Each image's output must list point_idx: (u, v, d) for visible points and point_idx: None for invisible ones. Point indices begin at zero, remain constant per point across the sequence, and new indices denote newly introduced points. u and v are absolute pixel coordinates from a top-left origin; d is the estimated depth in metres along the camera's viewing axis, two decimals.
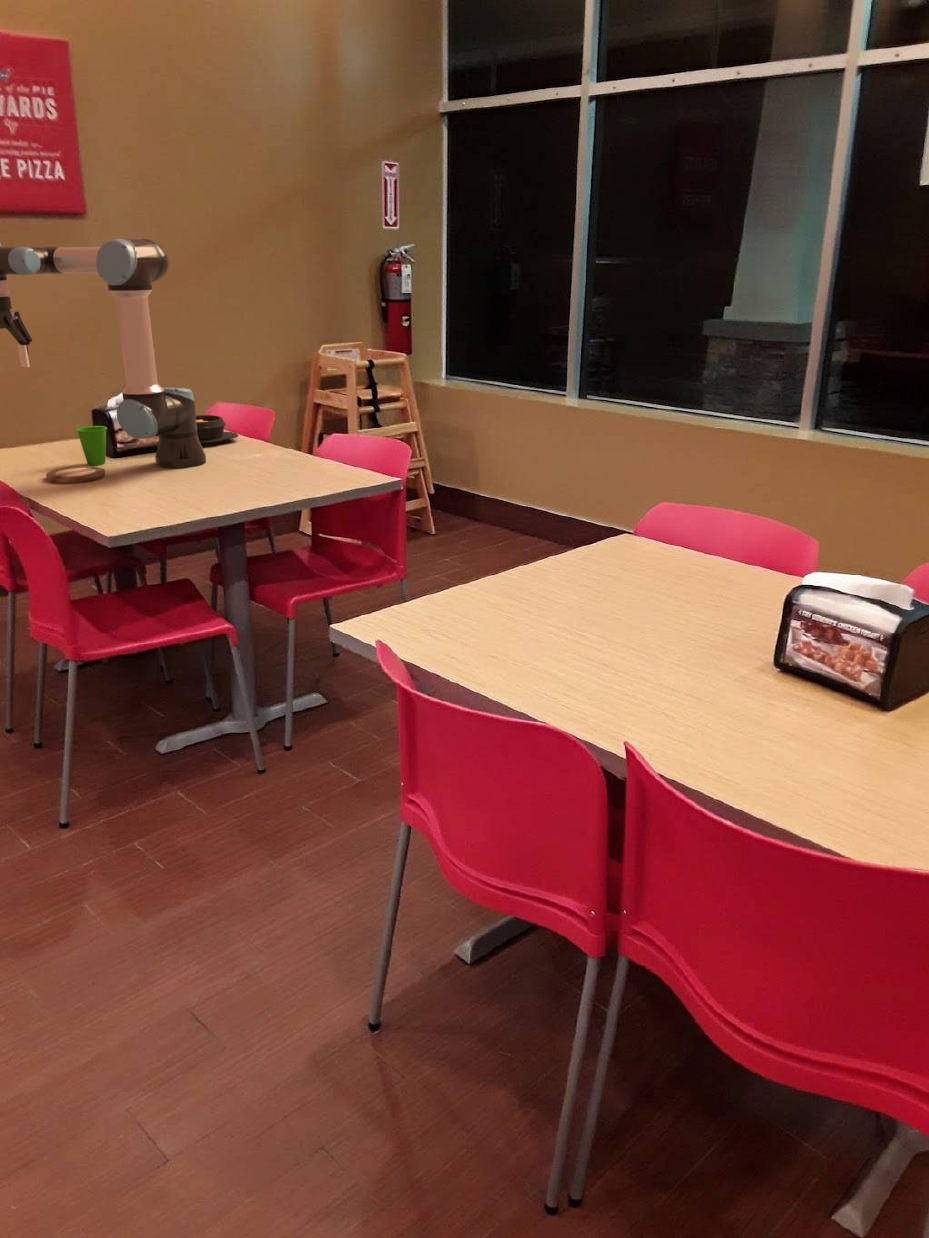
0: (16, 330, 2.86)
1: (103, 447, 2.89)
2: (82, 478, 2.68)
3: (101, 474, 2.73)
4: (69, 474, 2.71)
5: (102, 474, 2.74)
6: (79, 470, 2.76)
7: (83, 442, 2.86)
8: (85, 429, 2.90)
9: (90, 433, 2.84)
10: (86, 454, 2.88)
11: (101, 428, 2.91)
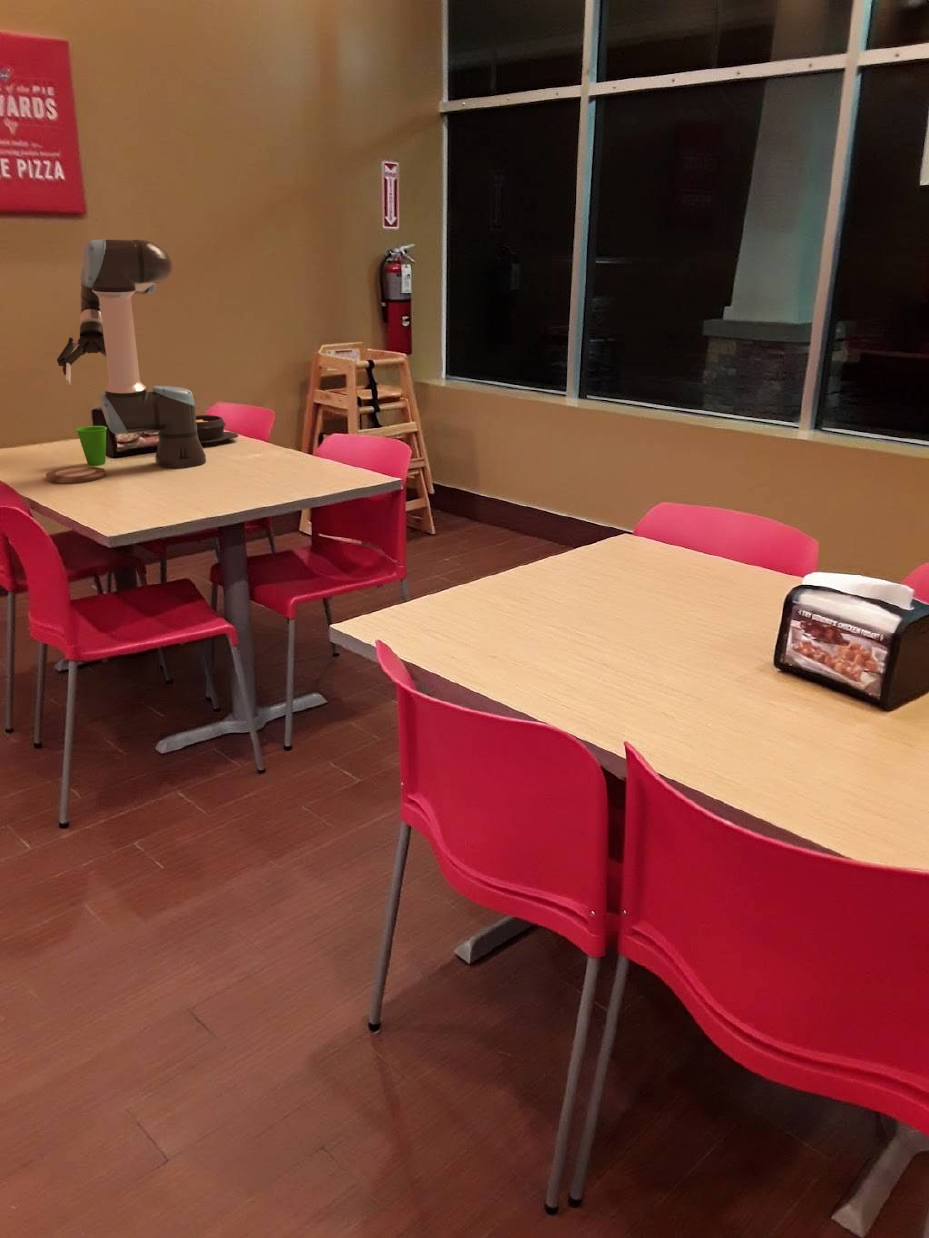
0: (106, 350, 2.96)
1: (103, 447, 2.89)
2: (82, 478, 2.68)
3: (101, 474, 2.73)
4: (69, 474, 2.71)
5: (102, 474, 2.74)
6: (79, 470, 2.76)
7: (83, 442, 2.86)
8: (85, 429, 2.90)
9: (90, 433, 2.84)
10: (86, 454, 2.88)
11: (101, 428, 2.91)
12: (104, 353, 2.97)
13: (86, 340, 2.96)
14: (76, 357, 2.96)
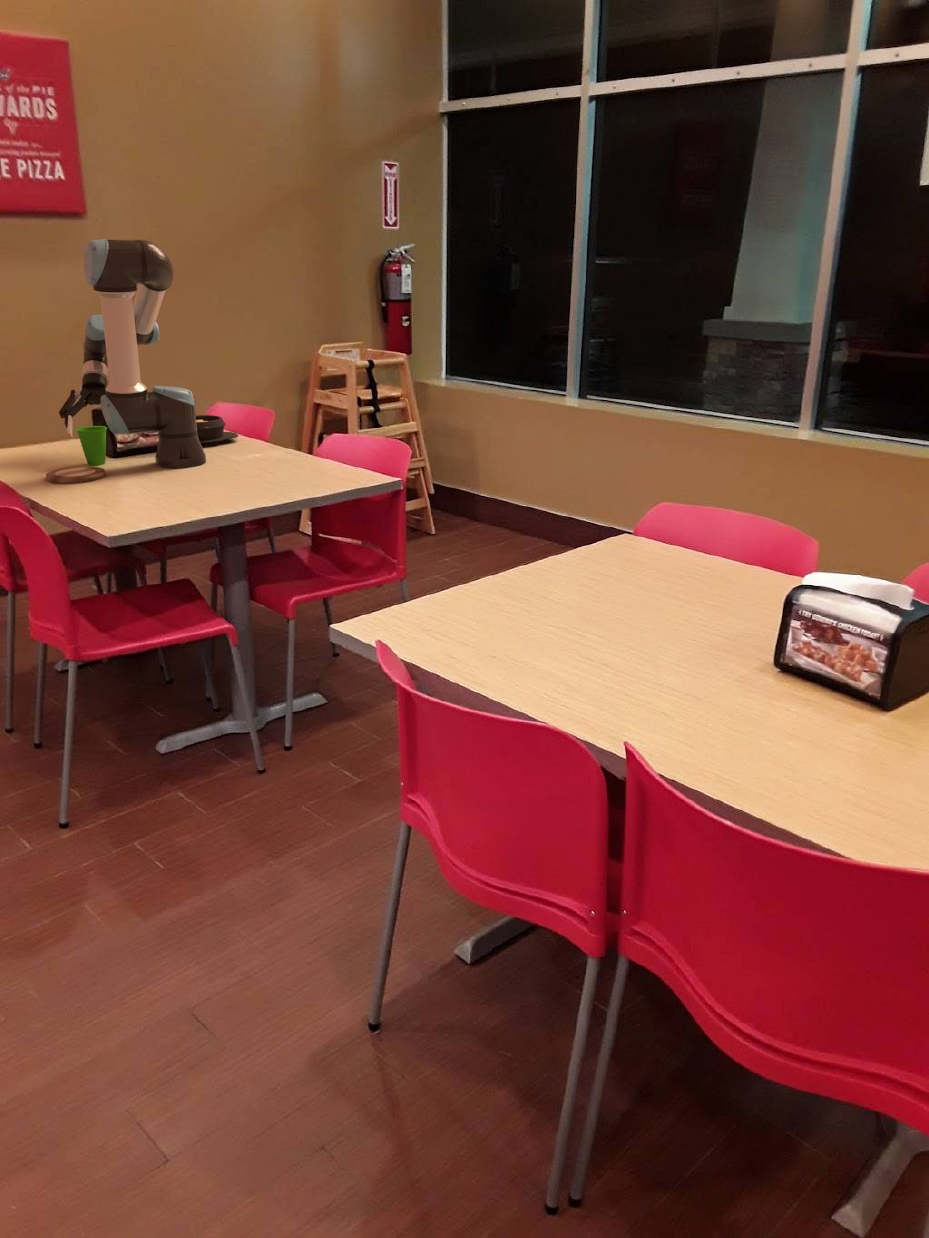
0: None
1: (103, 447, 2.89)
2: (82, 478, 2.68)
3: (101, 474, 2.73)
4: (69, 474, 2.71)
5: (102, 474, 2.74)
6: (79, 470, 2.76)
7: (83, 442, 2.86)
8: (85, 429, 2.90)
9: (90, 433, 2.84)
10: (86, 454, 2.88)
11: (101, 428, 2.91)
12: None
13: (88, 392, 2.95)
14: (78, 409, 2.95)
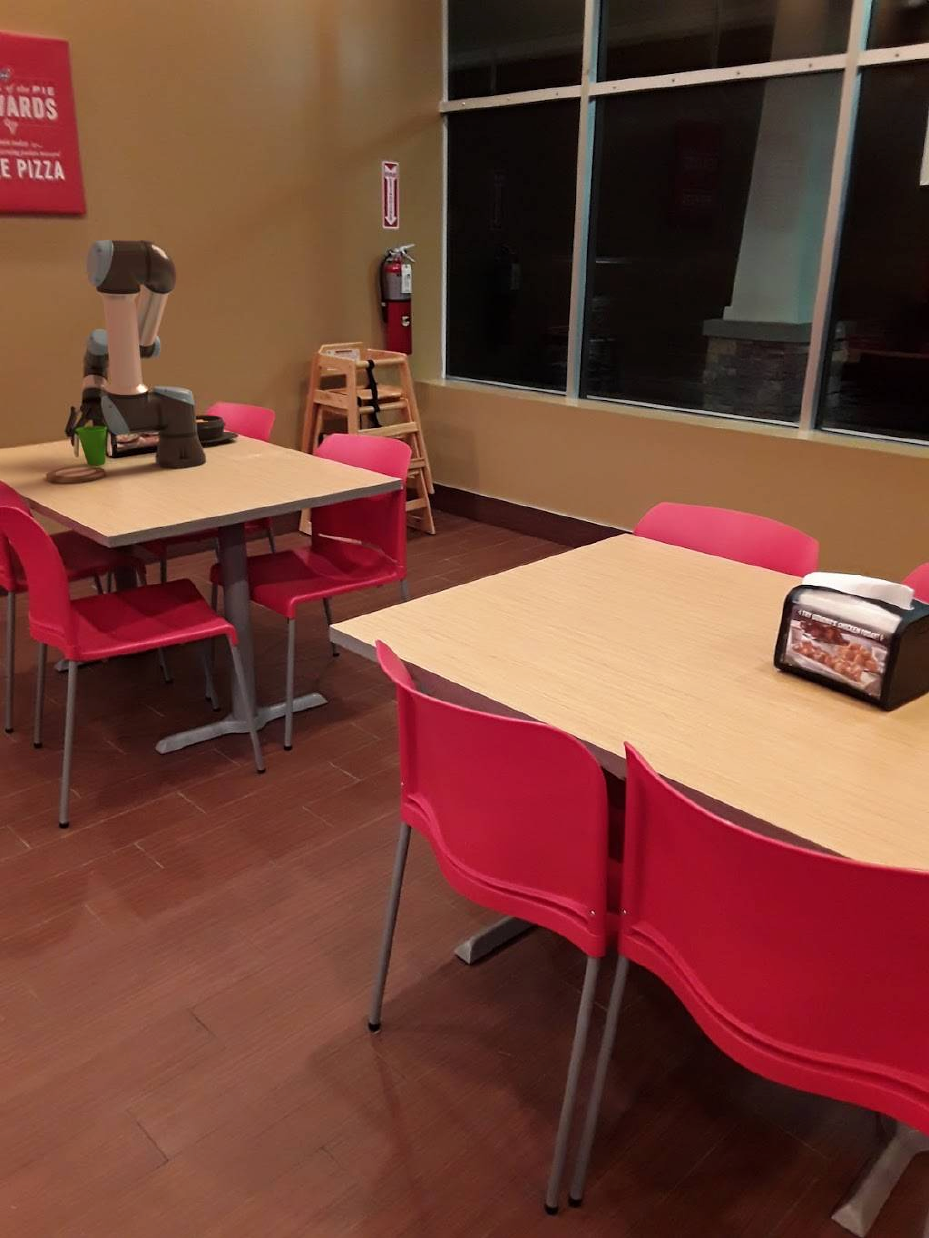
0: (105, 419, 2.91)
1: (103, 447, 2.89)
2: (82, 478, 2.68)
3: (101, 474, 2.73)
4: (69, 474, 2.71)
5: (102, 474, 2.74)
6: (79, 470, 2.76)
7: (83, 442, 2.86)
8: (85, 429, 2.90)
9: (90, 433, 2.84)
10: (86, 454, 2.88)
11: (101, 428, 2.91)
12: (103, 421, 2.92)
13: (88, 407, 2.91)
14: (82, 426, 2.91)
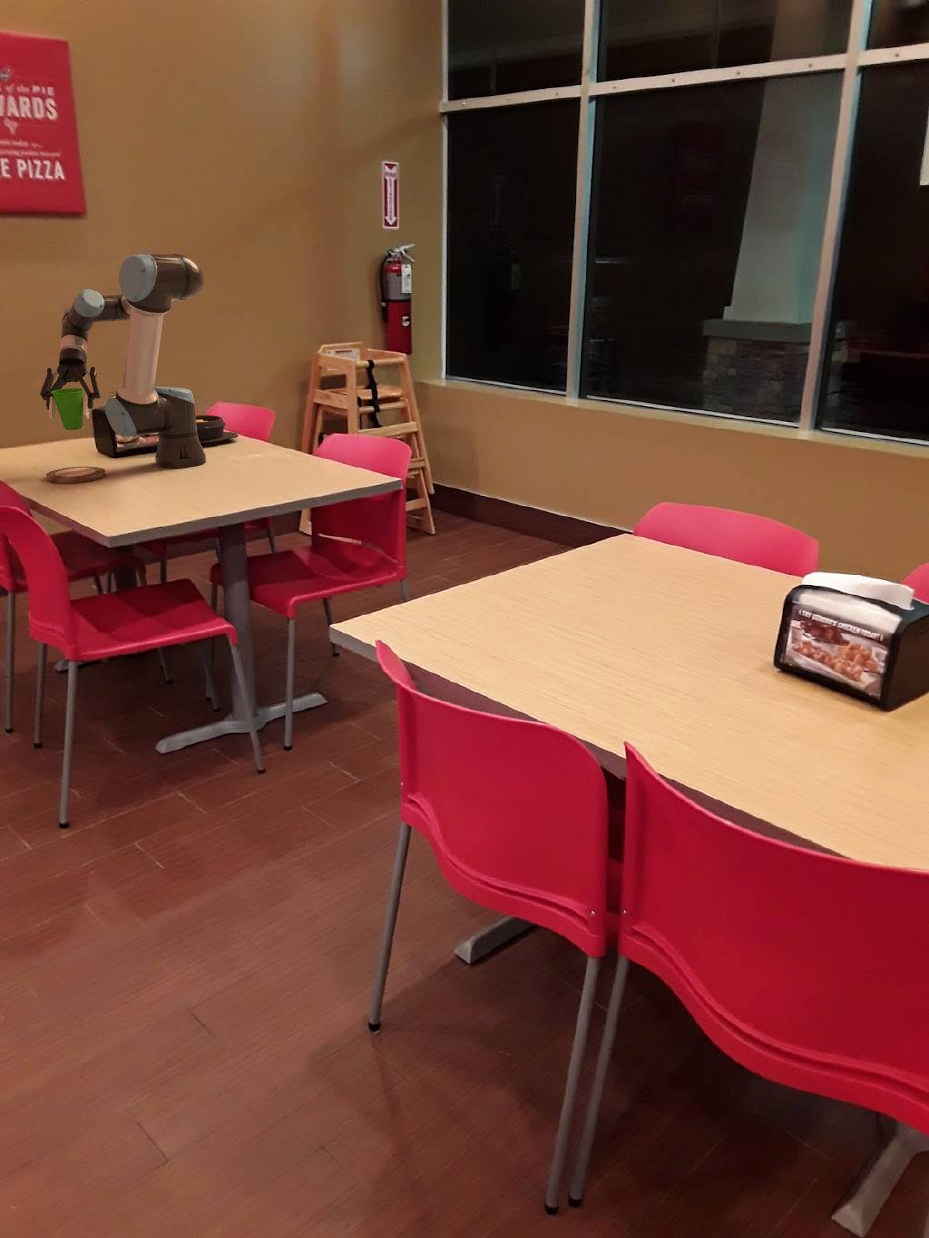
0: (82, 381, 2.77)
1: (80, 410, 2.75)
2: (82, 478, 2.68)
3: (101, 474, 2.73)
4: (69, 474, 2.71)
5: (102, 474, 2.74)
6: (79, 470, 2.76)
7: (58, 405, 2.72)
8: (62, 392, 2.77)
9: (65, 395, 2.70)
10: (62, 418, 2.74)
11: (78, 391, 2.77)
12: (81, 383, 2.78)
13: (65, 368, 2.78)
14: (59, 388, 2.77)
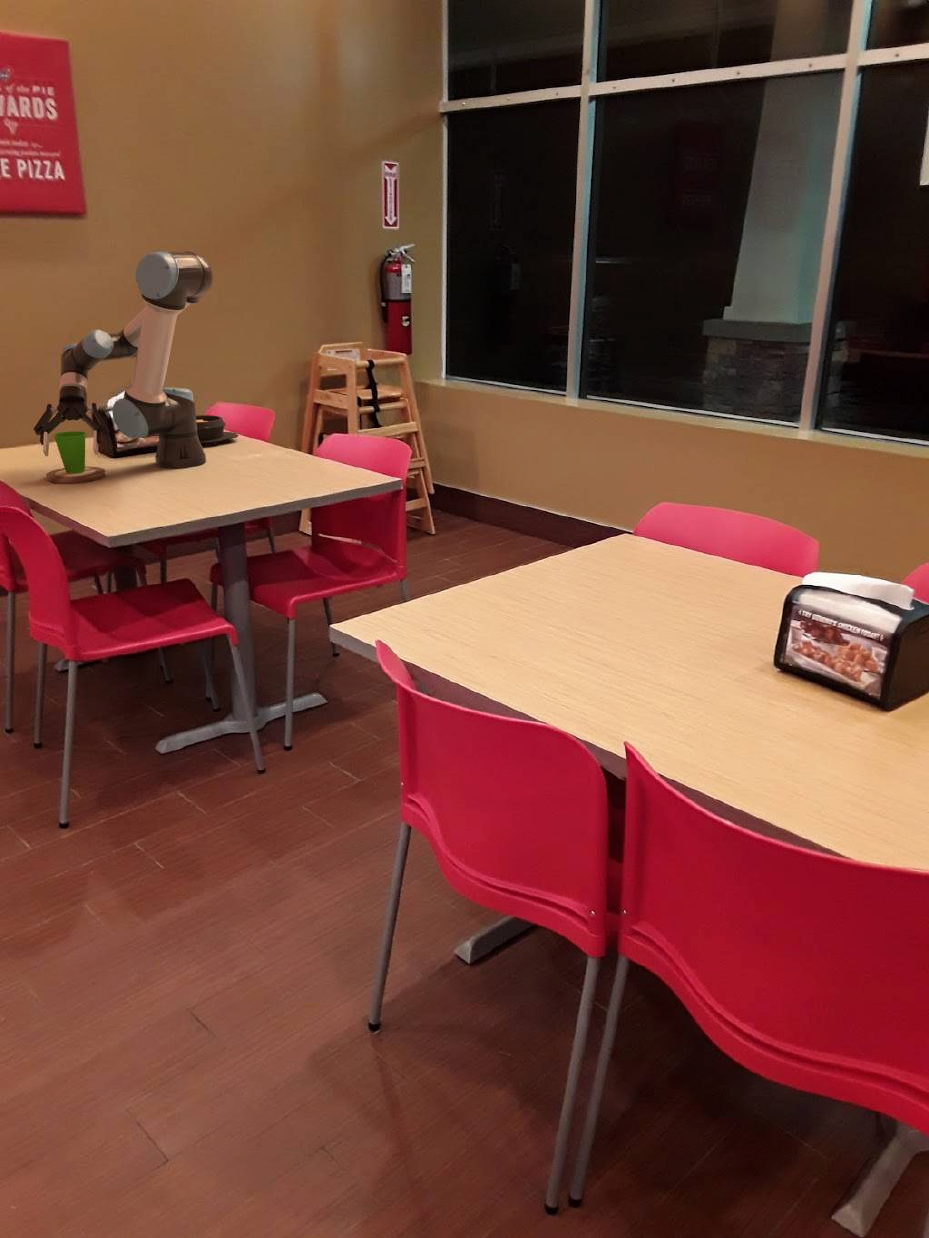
0: (87, 417, 2.73)
1: (82, 454, 2.71)
2: (82, 478, 2.68)
3: (101, 474, 2.73)
4: (69, 474, 2.71)
5: (102, 474, 2.74)
6: None
7: (61, 449, 2.68)
8: (63, 435, 2.73)
9: (68, 439, 2.67)
10: (64, 461, 2.70)
11: (80, 434, 2.73)
12: (85, 420, 2.74)
13: (66, 406, 2.73)
14: (55, 425, 2.73)
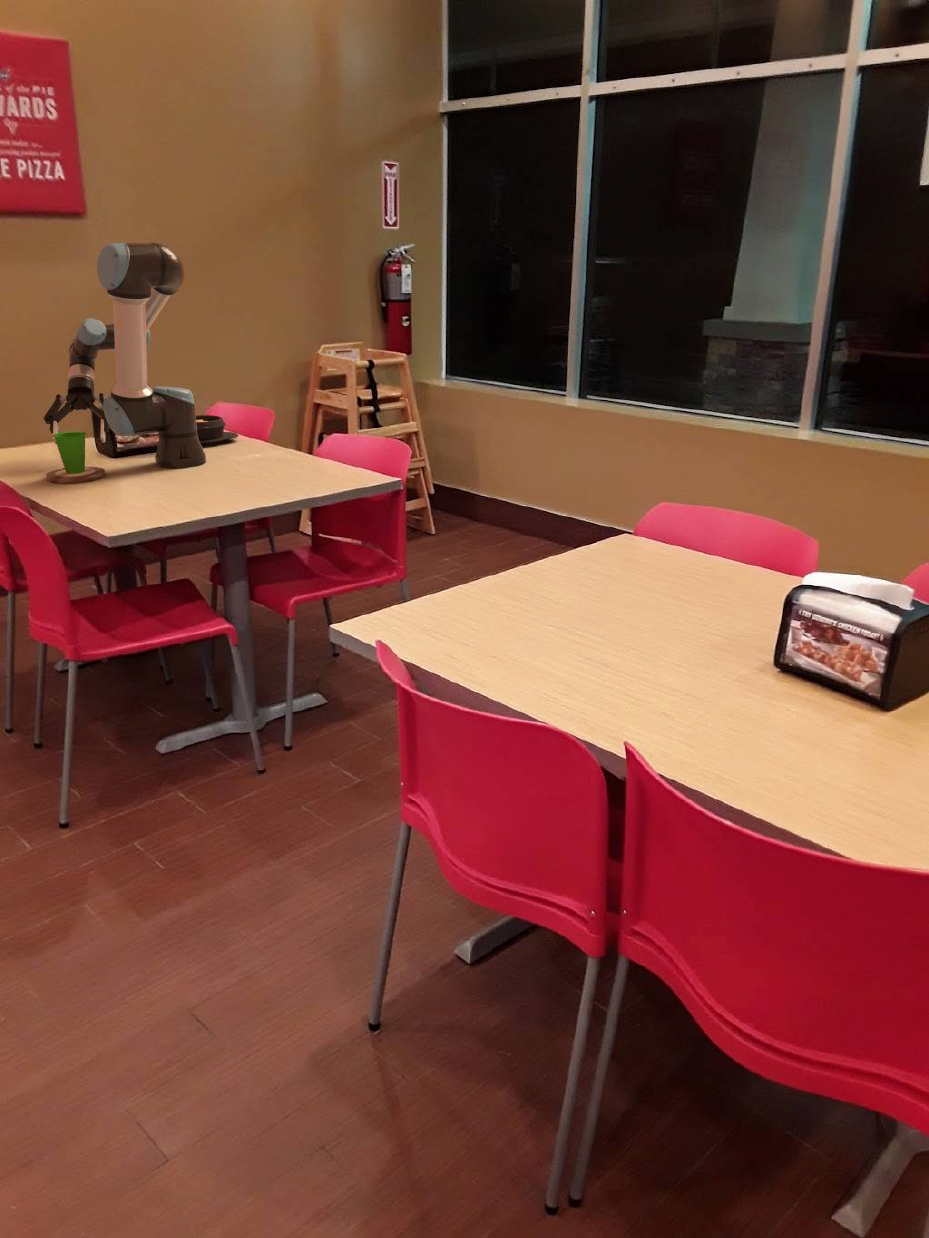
0: (94, 407, 2.86)
1: (82, 454, 2.71)
2: (82, 478, 2.68)
3: (101, 474, 2.73)
4: (69, 474, 2.71)
5: (102, 474, 2.74)
6: None
7: (61, 449, 2.68)
8: (63, 435, 2.73)
9: (68, 439, 2.66)
10: (64, 461, 2.70)
11: (80, 434, 2.73)
12: (93, 410, 2.87)
13: (74, 397, 2.85)
14: (64, 414, 2.85)
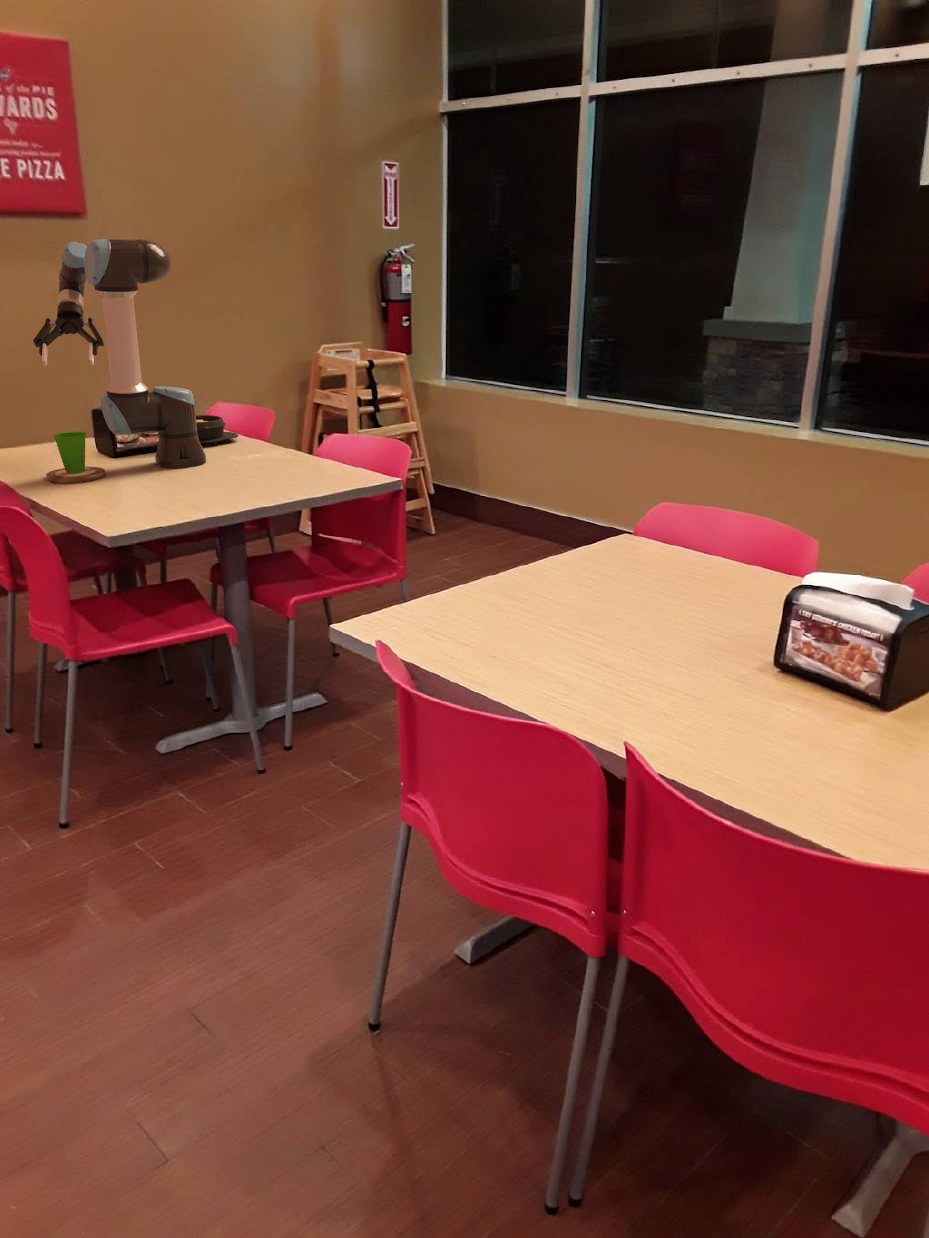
0: (83, 331, 2.91)
1: (82, 454, 2.71)
2: (82, 478, 2.68)
3: (101, 474, 2.73)
4: (69, 474, 2.71)
5: (102, 474, 2.74)
6: None
7: (61, 449, 2.68)
8: (63, 435, 2.73)
9: (68, 439, 2.67)
10: (64, 461, 2.70)
11: (80, 434, 2.73)
12: (82, 334, 2.92)
13: (63, 321, 2.91)
14: (53, 338, 2.90)
